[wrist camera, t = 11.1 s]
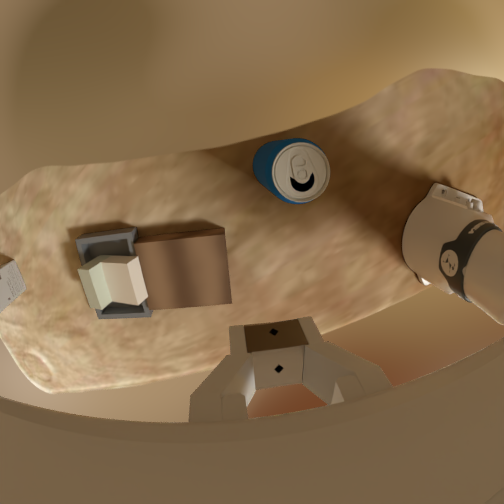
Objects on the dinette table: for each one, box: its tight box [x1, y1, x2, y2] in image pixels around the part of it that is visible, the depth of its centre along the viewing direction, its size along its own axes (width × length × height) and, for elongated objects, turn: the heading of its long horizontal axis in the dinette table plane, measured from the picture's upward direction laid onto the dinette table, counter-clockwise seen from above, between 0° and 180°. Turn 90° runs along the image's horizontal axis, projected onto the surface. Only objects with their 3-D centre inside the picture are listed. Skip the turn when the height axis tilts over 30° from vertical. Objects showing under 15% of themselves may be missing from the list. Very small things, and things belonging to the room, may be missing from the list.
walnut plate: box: [134, 228, 232, 310], centre depth 38 cm, size 12×10×3 cm
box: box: [75, 227, 153, 319], centre depth 37 cm, size 9×13×2 cm
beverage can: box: [253, 138, 330, 204], centre depth 30 cm, size 6×6×12 cm
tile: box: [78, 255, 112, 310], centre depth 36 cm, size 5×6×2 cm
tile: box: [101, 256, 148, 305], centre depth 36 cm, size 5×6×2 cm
